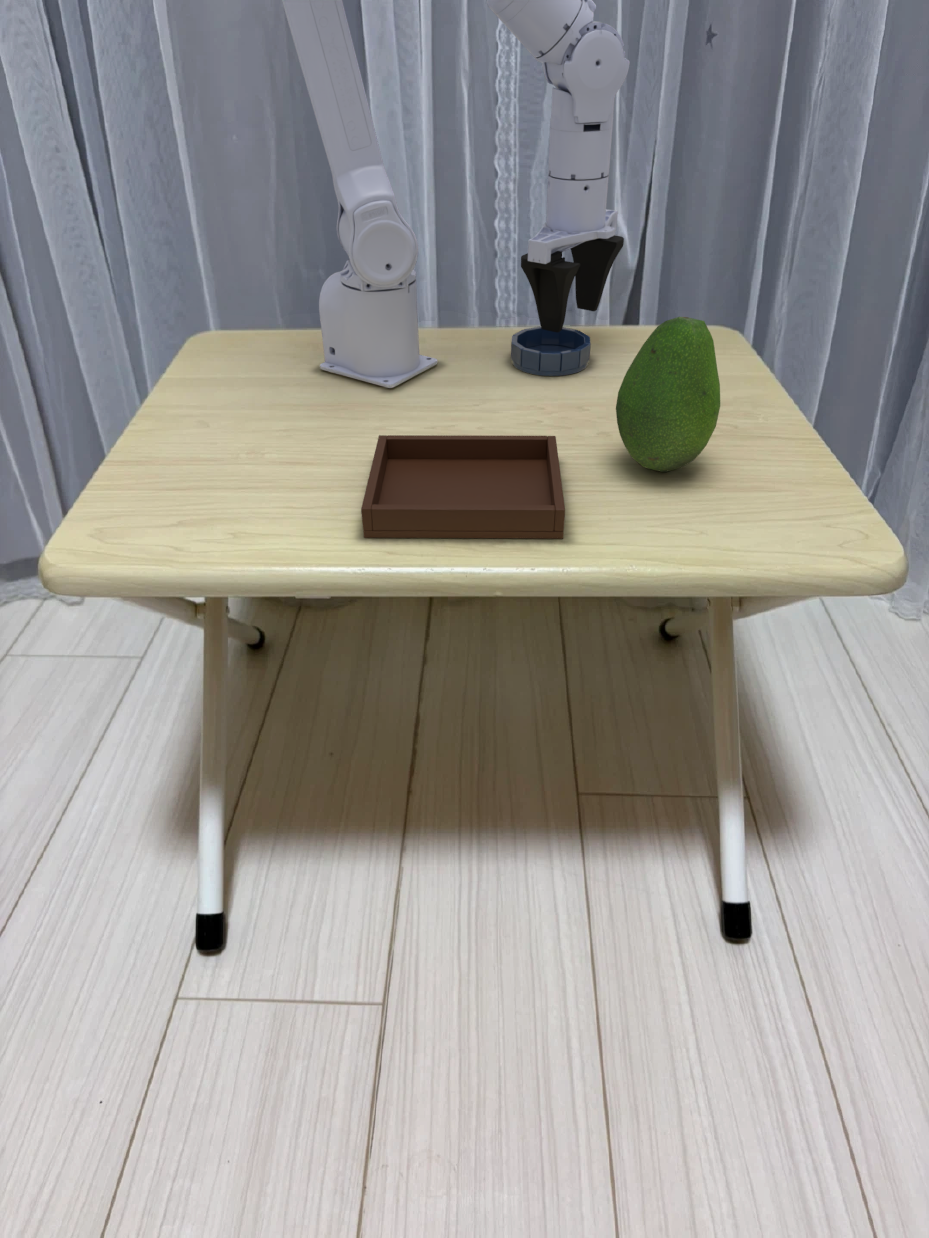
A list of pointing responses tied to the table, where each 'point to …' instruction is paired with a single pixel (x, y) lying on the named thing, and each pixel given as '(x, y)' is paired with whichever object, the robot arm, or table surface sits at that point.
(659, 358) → the fruit
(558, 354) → the blue faceted bowl
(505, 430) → the table surface
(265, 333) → the table surface
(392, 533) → the tray
